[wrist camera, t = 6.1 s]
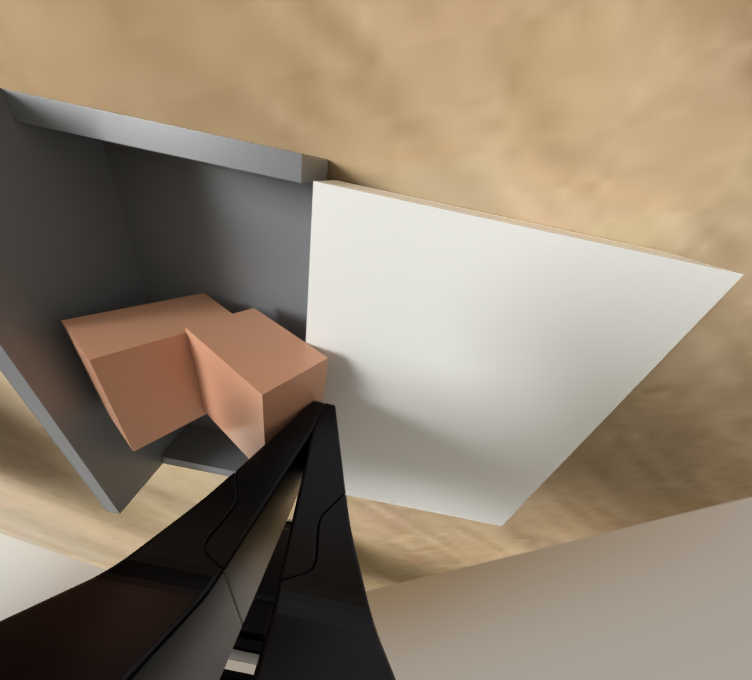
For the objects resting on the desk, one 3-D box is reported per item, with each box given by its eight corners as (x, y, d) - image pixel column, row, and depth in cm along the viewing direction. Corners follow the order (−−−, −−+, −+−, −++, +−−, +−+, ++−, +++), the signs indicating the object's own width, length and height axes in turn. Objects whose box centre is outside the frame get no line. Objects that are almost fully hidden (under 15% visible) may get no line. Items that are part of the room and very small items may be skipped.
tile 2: (133, 451, 9) (106, 412, 10) (244, 394, 12) (215, 367, 13) (89, 359, 7) (61, 320, 8) (237, 317, 10) (204, 292, 11)
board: (489, 480, 16) (501, 526, 14) (313, 444, 16) (298, 485, 14) (662, 250, 9) (744, 274, 7) (336, 179, 9) (313, 181, 6)
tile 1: (318, 434, 11) (266, 477, 9) (258, 383, 12) (204, 411, 11) (328, 358, 9) (261, 394, 7) (253, 307, 10) (185, 327, 8)
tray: (307, 448, 16) (273, 544, 12) (184, 423, 16) (106, 510, 12) (328, 159, 8) (247, 141, 4) (86, 107, 8) (-255, 32, 4)
